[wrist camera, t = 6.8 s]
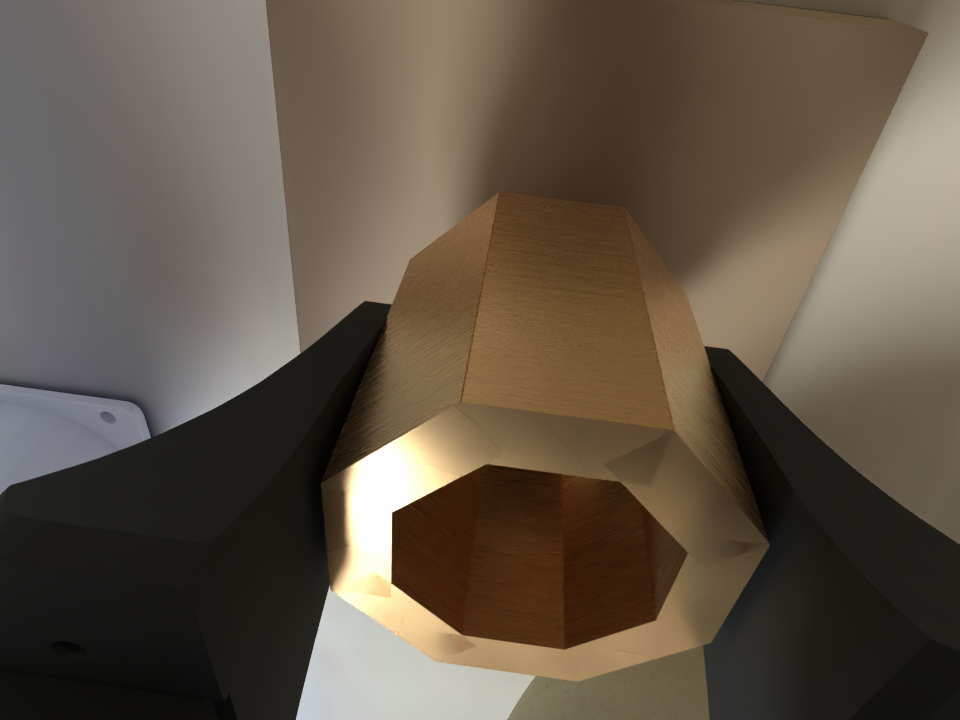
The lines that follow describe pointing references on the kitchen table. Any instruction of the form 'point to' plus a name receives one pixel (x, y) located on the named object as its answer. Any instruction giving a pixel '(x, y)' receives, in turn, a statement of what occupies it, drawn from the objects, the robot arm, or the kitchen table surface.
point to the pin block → (580, 137)
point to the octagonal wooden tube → (541, 454)
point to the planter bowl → (624, 693)
